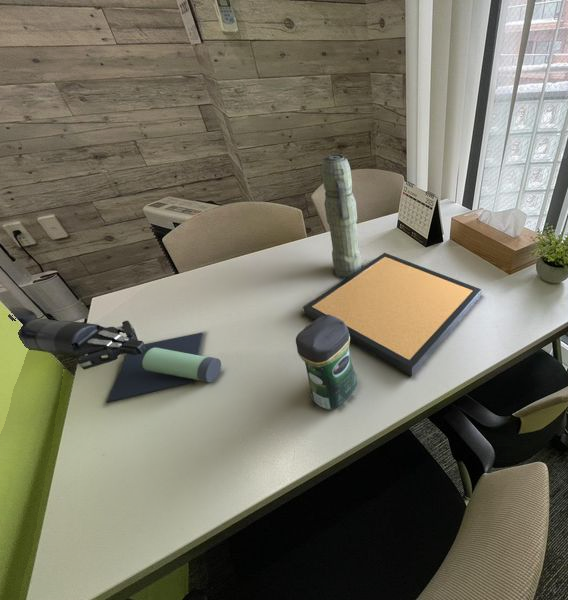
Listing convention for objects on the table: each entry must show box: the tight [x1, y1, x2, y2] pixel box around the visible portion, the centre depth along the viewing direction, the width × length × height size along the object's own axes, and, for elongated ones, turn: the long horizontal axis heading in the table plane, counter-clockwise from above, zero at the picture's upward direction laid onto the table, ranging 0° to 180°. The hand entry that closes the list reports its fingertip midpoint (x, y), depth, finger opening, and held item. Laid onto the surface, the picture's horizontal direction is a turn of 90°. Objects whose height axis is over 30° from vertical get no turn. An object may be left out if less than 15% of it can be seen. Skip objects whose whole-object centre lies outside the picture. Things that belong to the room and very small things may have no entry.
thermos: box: [321, 154, 363, 279], centre depth 94 cm, size 9×12×35 cm
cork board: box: [302, 252, 483, 377], centre depth 90 cm, size 36×3×35 cm
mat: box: [106, 332, 204, 404], centre depth 75 cm, size 16×16×1 cm
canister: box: [142, 348, 222, 383], centre depth 71 cm, size 5×5×14 cm
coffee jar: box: [295, 314, 358, 410], centre depth 63 cm, size 10×8×19 cm
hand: (142, 348), depth 68 cm, fingers closed
